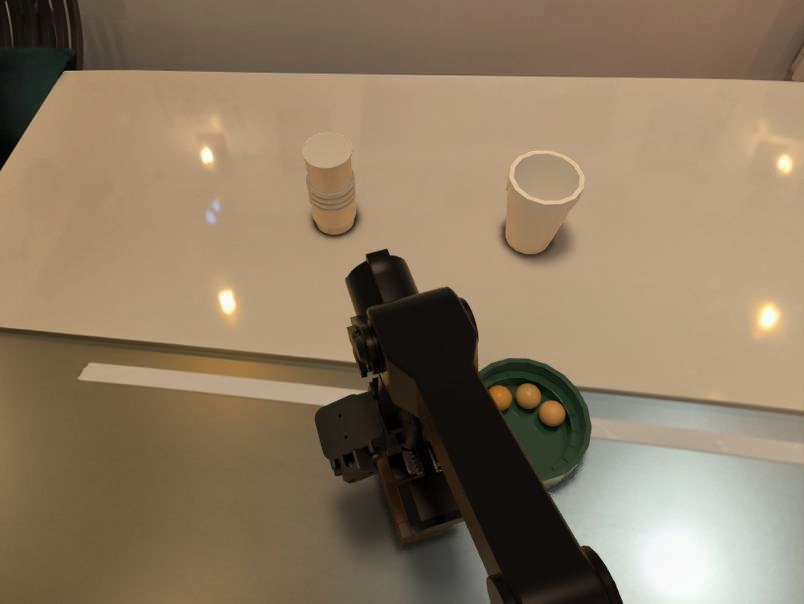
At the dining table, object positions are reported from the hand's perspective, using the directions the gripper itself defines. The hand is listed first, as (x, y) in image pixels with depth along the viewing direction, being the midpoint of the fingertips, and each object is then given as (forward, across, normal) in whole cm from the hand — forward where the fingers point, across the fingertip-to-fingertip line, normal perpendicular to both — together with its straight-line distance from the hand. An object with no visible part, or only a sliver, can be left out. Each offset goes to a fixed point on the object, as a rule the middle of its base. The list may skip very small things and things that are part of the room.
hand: (407, 448), depth 63 cm
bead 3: (+7, -1, +18) cm, 20 cm away
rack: (+9, 0, 0) cm, 9 cm away
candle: (+10, -39, +2) cm, 40 cm away
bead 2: (+7, -4, +17) cm, 19 cm away
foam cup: (+10, -27, +28) cm, 40 cm away
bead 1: (+7, -5, +13) cm, 16 cm away
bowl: (+9, -1, +14) cm, 17 cm away
